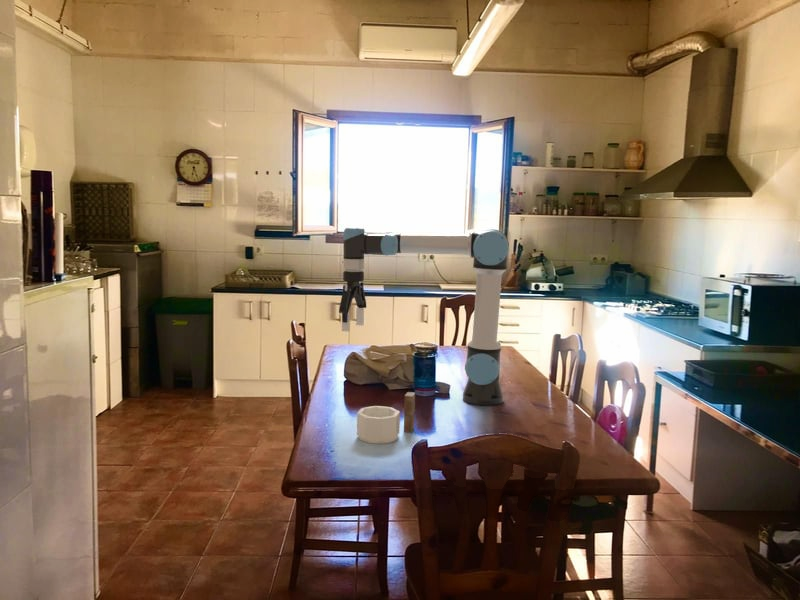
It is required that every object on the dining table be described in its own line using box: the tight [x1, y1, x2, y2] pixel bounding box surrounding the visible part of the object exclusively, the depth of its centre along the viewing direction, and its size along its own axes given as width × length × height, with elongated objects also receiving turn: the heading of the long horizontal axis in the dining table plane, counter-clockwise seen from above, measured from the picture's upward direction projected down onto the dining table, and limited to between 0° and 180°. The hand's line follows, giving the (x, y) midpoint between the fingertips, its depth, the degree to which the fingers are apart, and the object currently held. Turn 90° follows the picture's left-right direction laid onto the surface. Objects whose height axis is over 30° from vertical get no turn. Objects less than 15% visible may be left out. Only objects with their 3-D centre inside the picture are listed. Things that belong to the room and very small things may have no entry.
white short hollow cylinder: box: [356, 405, 401, 445], centre depth 203 cm, size 12×12×8 cm
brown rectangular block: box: [403, 391, 416, 434], centre depth 210 cm, size 2×4×12 cm, turn 168°
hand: (352, 328), depth 238 cm, fingers open, 13 cm apart
